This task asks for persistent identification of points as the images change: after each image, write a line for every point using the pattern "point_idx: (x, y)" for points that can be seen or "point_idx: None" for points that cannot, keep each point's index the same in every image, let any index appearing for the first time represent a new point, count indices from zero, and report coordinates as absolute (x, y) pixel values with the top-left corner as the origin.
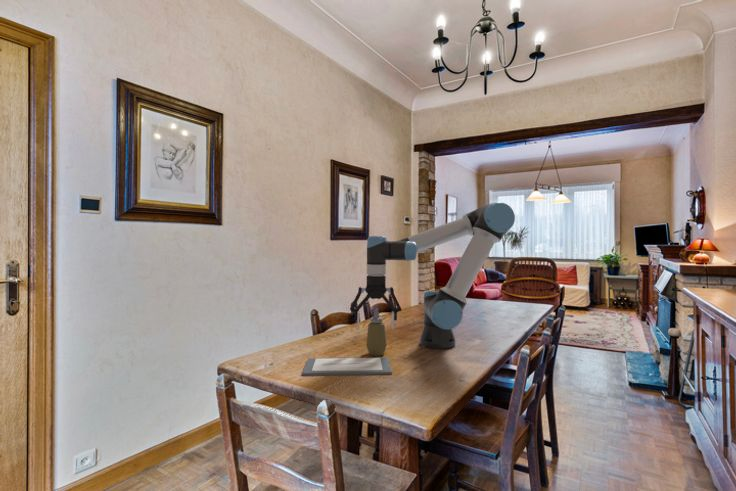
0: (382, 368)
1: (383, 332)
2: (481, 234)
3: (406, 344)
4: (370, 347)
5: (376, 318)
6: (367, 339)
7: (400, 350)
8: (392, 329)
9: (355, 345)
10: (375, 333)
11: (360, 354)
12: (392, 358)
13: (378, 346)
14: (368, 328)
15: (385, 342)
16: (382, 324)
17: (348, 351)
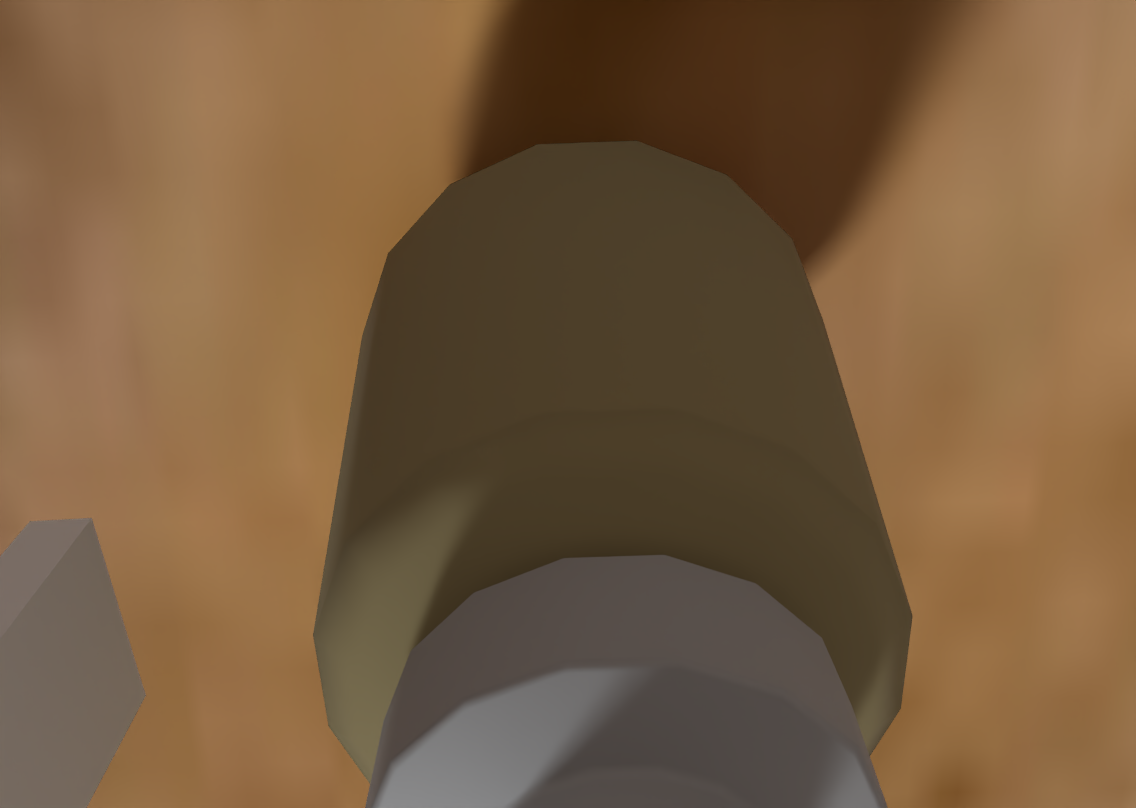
0: None
1: (377, 397)
2: None
3: (99, 804)
4: (733, 181)
5: (623, 744)
6: (831, 357)
7: (157, 511)
8: (75, 520)
9: (946, 738)
10: (634, 284)
11: (899, 263)
12: (253, 20)
13: (542, 155)
14: (879, 515)
15: (371, 322)
16: (375, 585)
17: (1108, 431)
